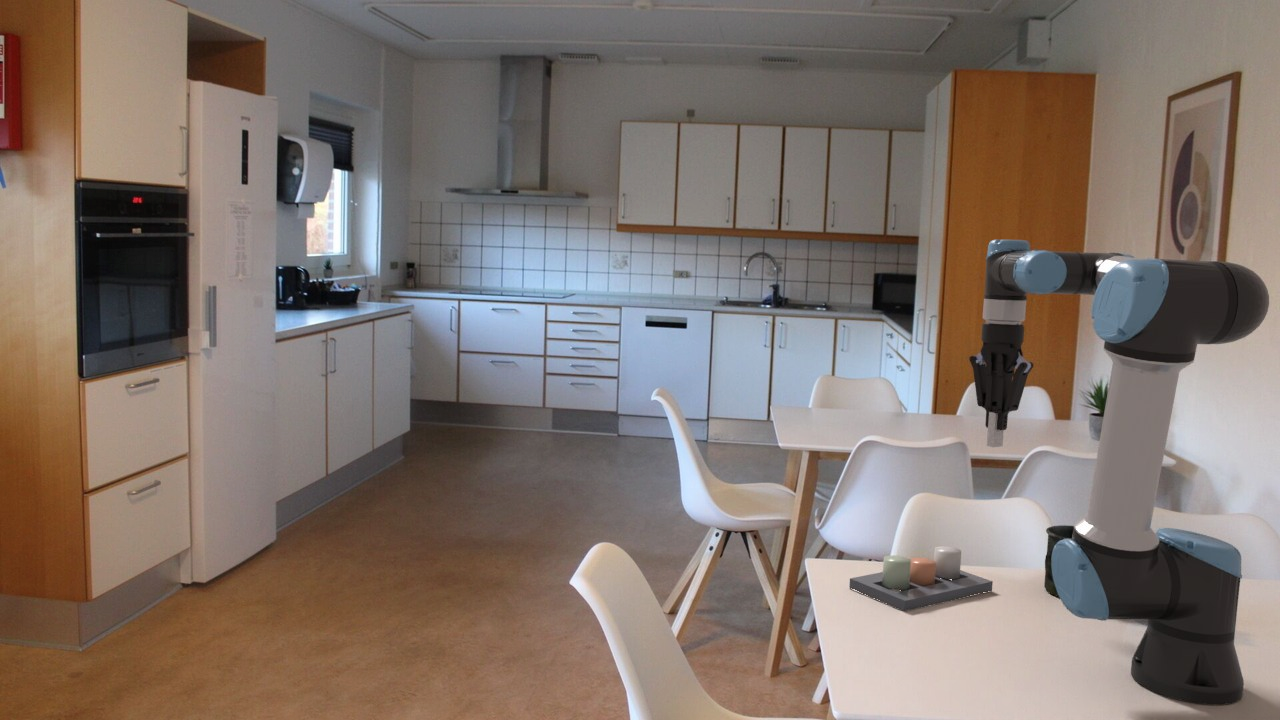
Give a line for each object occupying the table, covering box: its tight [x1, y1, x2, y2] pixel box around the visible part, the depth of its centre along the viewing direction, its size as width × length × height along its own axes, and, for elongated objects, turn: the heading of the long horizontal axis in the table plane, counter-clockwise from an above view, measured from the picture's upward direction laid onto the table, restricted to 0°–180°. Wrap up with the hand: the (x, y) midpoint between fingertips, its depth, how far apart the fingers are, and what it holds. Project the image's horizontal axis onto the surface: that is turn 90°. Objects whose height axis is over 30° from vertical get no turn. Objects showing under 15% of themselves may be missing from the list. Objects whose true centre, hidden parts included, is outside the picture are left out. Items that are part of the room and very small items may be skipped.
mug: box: [1043, 524, 1074, 598], centre depth 196 cm, size 11×15×12 cm
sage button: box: [882, 555, 911, 591], centre depth 192 cm, size 5×5×5 cm
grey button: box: [933, 545, 962, 580], centre depth 199 cm, size 5×5×5 cm
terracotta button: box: [909, 557, 936, 587], centre depth 196 cm, size 5×5×5 cm
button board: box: [849, 569, 994, 612], centre depth 196 cm, size 14×24×2 cm, turn 122°
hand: (994, 445), depth 194 cm, fingers closed
